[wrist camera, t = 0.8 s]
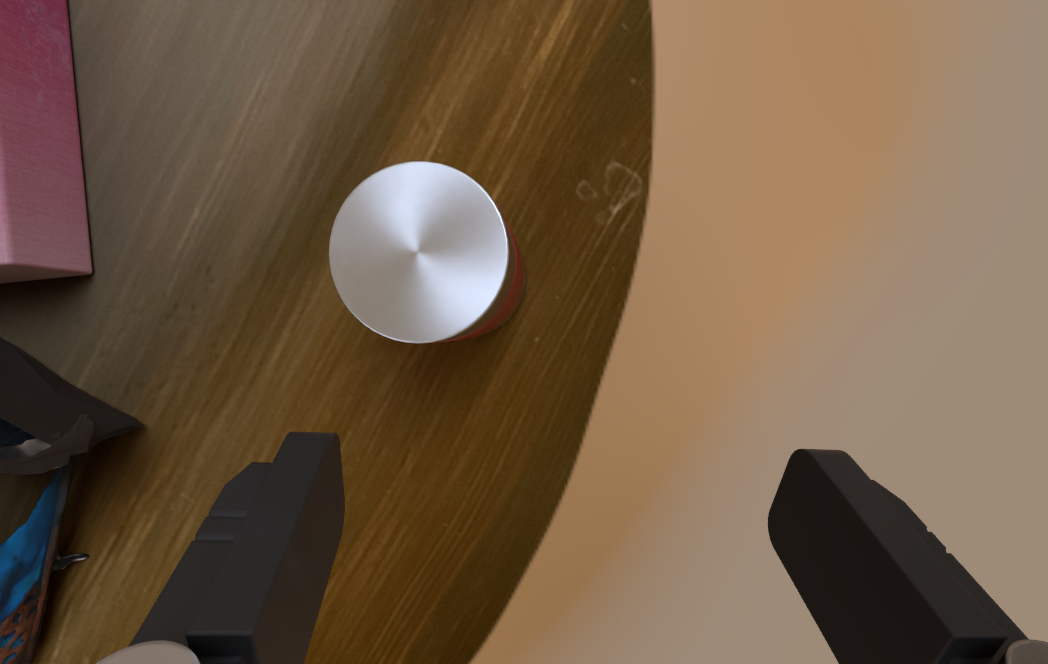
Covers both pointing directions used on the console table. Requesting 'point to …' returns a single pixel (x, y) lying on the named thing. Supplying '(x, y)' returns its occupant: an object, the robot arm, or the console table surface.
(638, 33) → the console table surface
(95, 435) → the lantern
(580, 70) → the console table surface
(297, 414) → the console table surface
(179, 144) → the console table surface
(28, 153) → the popsicle
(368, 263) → the can
